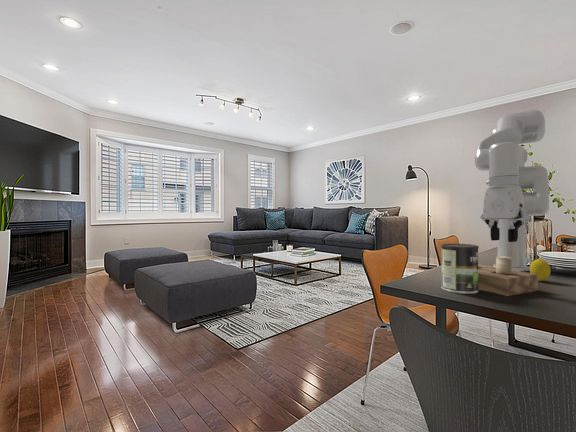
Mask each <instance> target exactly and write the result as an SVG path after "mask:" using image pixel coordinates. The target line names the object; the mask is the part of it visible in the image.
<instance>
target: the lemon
mask: <svg viewBox="0 0 576 432" xmlns="http://www.w3.org/2000/svg"><path fill="white" fill-rule="evenodd" d="M529 267H530V271H529V273H532V274H538V282H542V281H544V280H547V279H548V278H549V277H550V275H551V271H552V270H551V266H550V264H549V262H548V261H546V260H544V259H542V258H541V257H538V258H537V259H534V260H532V261H531V263H530V265H529Z"/></svg>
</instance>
